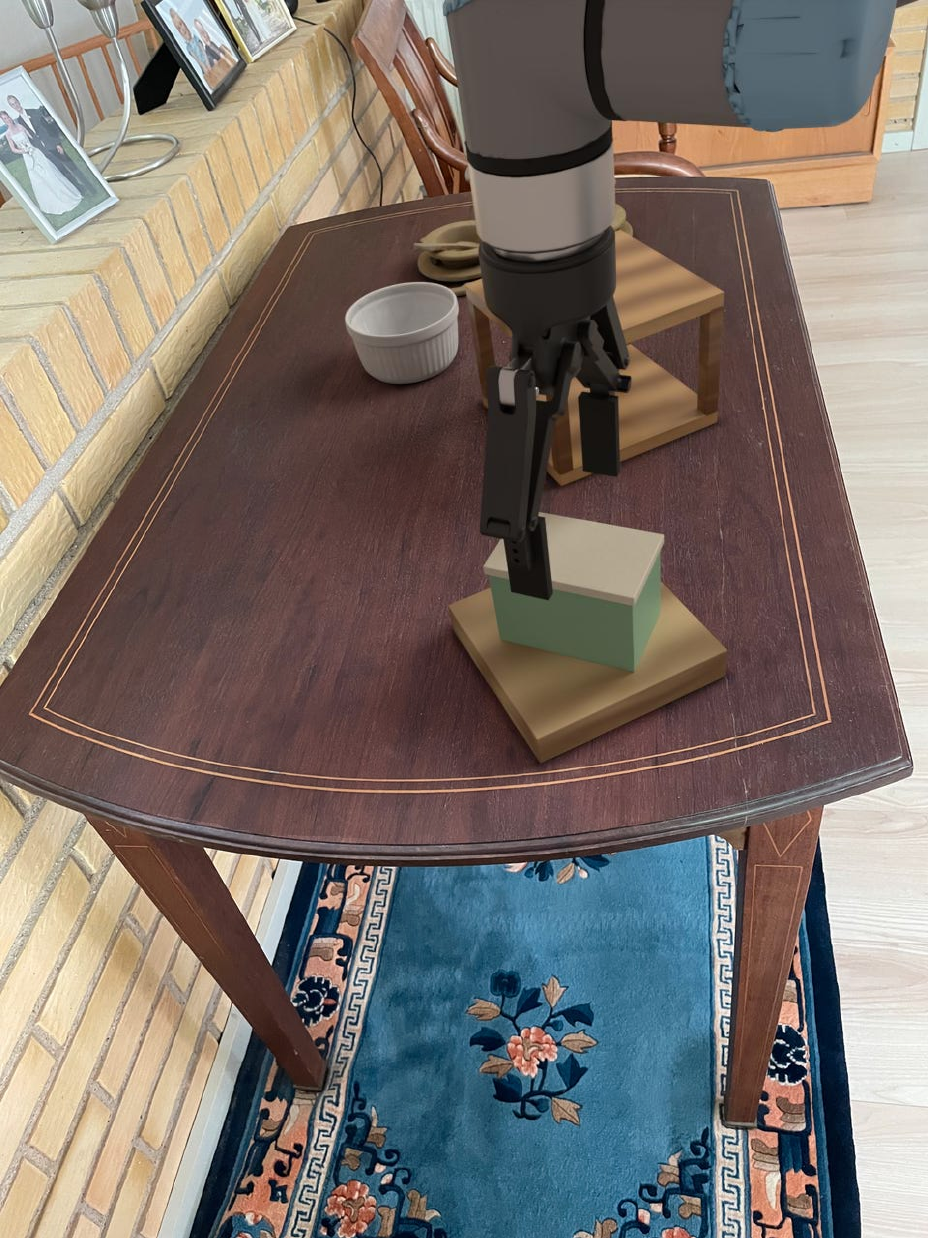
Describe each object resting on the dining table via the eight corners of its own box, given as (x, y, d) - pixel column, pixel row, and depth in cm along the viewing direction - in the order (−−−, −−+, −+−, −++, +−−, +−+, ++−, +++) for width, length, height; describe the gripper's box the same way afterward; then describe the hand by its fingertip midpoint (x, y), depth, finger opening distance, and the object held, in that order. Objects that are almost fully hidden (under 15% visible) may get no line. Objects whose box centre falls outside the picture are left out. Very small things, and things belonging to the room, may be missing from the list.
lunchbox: (664, 611, 72) (664, 534, 66) (636, 675, 68) (634, 598, 62) (529, 582, 76) (519, 507, 71) (496, 641, 72) (482, 566, 67)
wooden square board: (725, 676, 70) (727, 650, 68) (540, 764, 67) (536, 739, 65) (616, 559, 81) (615, 533, 79) (453, 630, 78) (447, 605, 76)
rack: (717, 422, 93) (724, 291, 83) (561, 486, 89) (549, 358, 80) (623, 350, 105) (620, 229, 95) (483, 404, 102) (464, 284, 92)
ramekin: (440, 322, 117) (431, 269, 112) (484, 365, 107) (475, 310, 103) (344, 357, 114) (330, 304, 109) (380, 404, 105) (366, 349, 100)
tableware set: (421, 303, 121) (412, 259, 117) (417, 241, 135) (409, 200, 131) (646, 264, 119) (645, 218, 115) (618, 206, 133) (617, 163, 129)
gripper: (563, 142, 59) (580, 422, 74) (375, 340, 44) (444, 639, 59) (679, 144, 56) (672, 435, 71) (518, 357, 41) (552, 667, 56)
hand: (568, 528), depth 65 cm, fingers open, 13 cm apart
